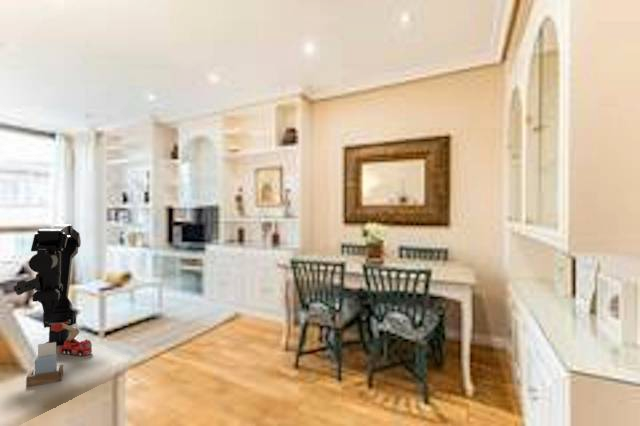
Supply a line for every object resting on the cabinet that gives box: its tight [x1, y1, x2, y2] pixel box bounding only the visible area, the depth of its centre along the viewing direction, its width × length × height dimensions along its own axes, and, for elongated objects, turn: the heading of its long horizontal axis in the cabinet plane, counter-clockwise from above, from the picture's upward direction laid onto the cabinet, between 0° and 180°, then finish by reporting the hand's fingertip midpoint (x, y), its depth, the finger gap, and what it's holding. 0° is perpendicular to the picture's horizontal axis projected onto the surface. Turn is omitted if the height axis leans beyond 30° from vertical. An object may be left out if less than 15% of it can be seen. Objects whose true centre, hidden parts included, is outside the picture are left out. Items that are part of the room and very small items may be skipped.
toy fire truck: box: [51, 322, 93, 357], centre depth 120 cm, size 3×14×10 cm, turn 78°
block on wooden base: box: [34, 342, 58, 375], centre depth 101 cm, size 4×4×9 cm
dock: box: [25, 364, 64, 388], centre depth 104 cm, size 11×8×2 cm, turn 30°
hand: (47, 318), depth 114 cm, fingers closed
